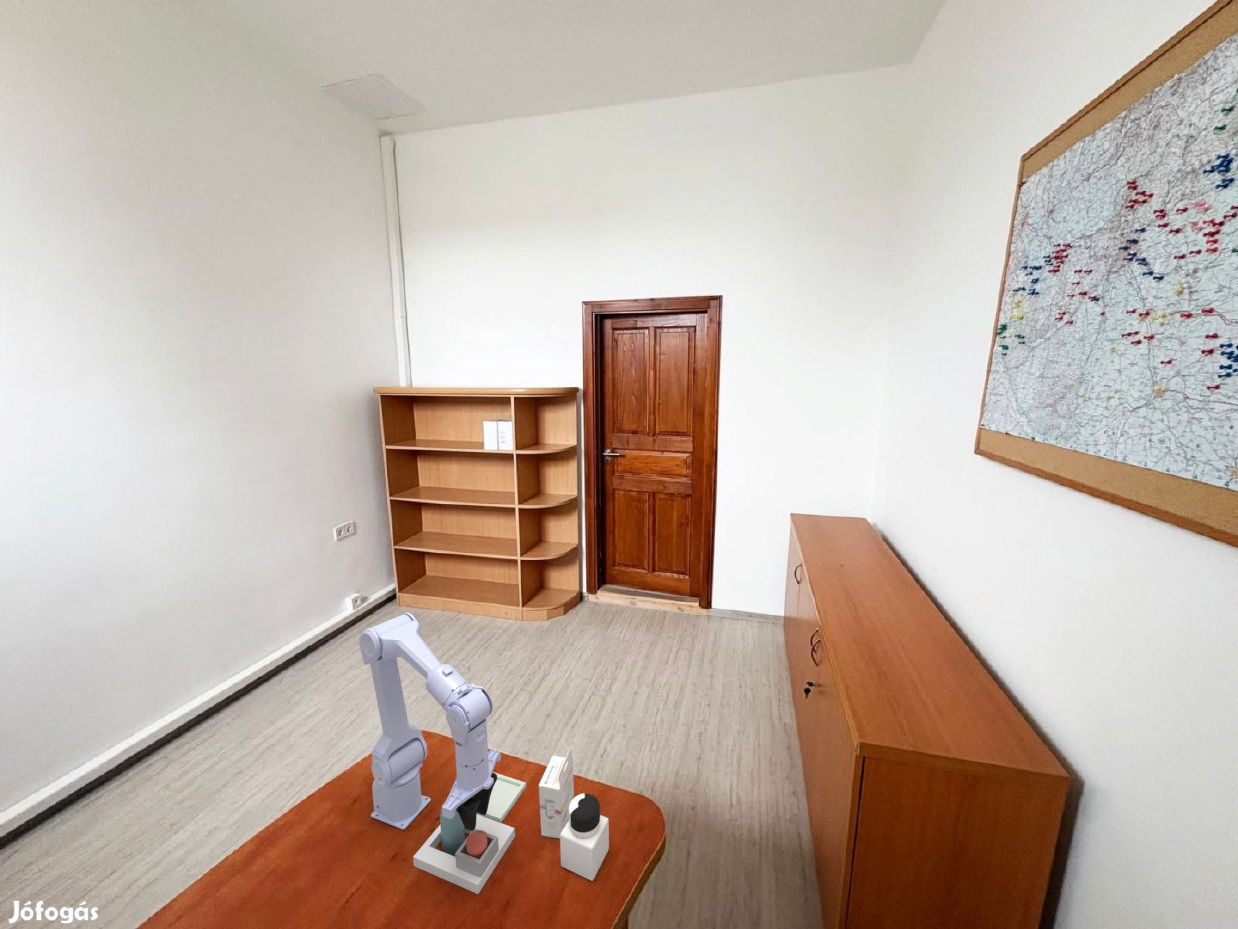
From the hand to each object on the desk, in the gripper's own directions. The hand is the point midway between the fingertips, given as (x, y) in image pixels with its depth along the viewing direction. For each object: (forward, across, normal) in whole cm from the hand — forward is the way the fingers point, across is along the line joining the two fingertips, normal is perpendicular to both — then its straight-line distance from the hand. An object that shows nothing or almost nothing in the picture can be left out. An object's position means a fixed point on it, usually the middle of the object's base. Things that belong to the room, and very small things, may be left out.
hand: (475, 820), depth 88 cm
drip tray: (+10, +14, +6) cm, 19 cm away
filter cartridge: (+10, +2, +8) cm, 13 cm away
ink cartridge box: (+11, +14, -10) cm, 20 cm away
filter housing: (+10, +2, +4) cm, 12 cm away
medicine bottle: (+11, +9, -18) cm, 23 cm away
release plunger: (+7, 0, 0) cm, 7 cm away
